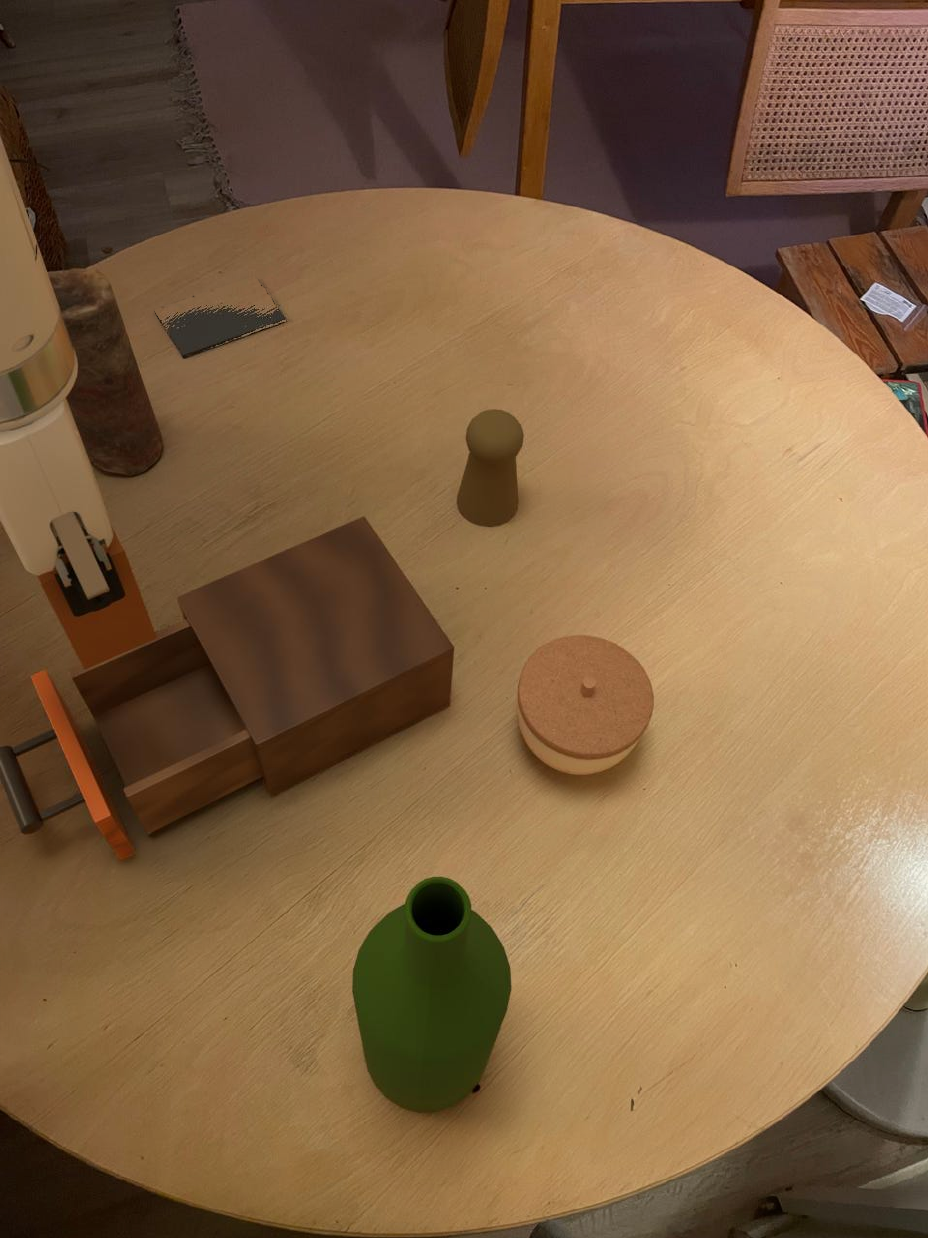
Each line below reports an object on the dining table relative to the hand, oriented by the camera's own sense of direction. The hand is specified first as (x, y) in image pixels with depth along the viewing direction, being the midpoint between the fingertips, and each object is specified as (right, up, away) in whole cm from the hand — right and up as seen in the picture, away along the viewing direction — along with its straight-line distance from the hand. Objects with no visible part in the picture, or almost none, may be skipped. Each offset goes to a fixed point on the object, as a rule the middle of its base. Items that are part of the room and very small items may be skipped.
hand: (84, 573), depth 63 cm
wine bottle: (+20, -33, +11) cm, 41 cm away
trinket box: (+32, -13, +25) cm, 43 cm away
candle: (-10, +14, +39) cm, 43 cm away
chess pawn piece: (+25, +9, +38) cm, 46 cm away
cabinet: (+11, -8, +26) cm, 30 cm away
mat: (-3, +30, +50) cm, 58 cm away
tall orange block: (0, -4, +6) cm, 7 cm away
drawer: (-2, -14, +21) cm, 25 cm away
